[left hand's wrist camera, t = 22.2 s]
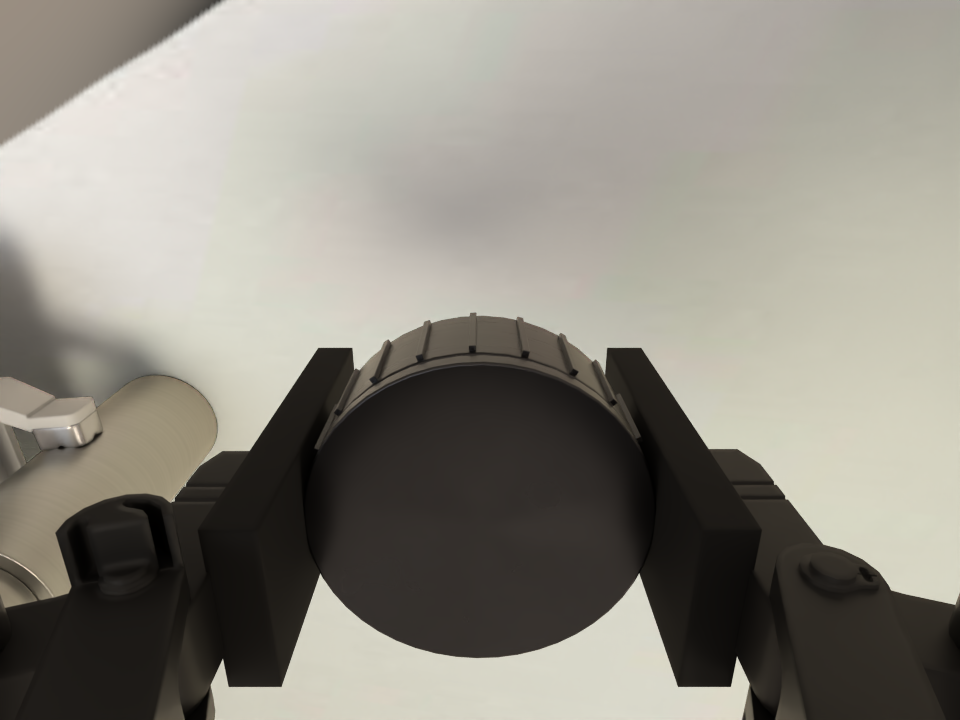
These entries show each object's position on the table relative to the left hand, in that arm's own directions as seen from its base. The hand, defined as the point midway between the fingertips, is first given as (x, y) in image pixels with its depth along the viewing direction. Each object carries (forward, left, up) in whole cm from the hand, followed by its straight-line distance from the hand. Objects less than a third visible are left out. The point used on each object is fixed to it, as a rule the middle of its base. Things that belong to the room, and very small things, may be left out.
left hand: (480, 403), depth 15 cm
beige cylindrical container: (+19, 0, -16) cm, 25 cm away
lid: (0, 0, +4) cm, 4 cm away
